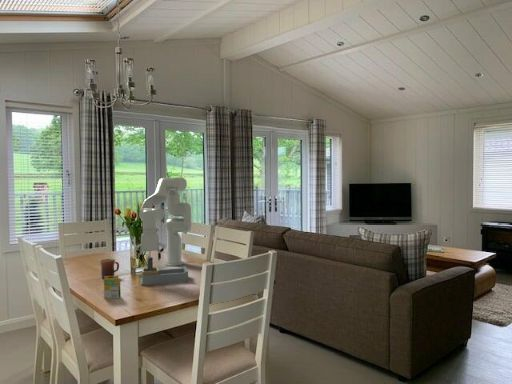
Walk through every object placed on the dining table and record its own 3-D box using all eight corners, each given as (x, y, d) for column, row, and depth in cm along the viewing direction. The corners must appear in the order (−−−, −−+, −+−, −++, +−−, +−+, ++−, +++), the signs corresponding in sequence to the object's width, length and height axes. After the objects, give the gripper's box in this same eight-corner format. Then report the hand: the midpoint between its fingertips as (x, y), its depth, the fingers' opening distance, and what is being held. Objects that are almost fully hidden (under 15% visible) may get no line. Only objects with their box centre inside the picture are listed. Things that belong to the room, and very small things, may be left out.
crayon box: (120, 296, 202) (120, 274, 201) (118, 298, 199) (118, 275, 198) (106, 297, 202) (105, 274, 201) (104, 298, 199) (103, 276, 198)
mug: (97, 278, 237) (96, 261, 236) (106, 274, 245) (105, 258, 245) (114, 279, 234) (114, 262, 233) (123, 276, 242) (122, 259, 241)
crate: (142, 277, 232) (141, 256, 232) (158, 276, 235) (157, 255, 234) (142, 281, 224) (141, 259, 223) (158, 280, 226) (158, 258, 226)
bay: (141, 279, 234) (141, 269, 234) (185, 276, 242) (185, 266, 241) (141, 285, 222) (141, 274, 222) (188, 281, 229) (188, 271, 229)
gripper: (164, 229, 234) (165, 257, 235) (134, 230, 229) (134, 260, 231) (165, 231, 227) (166, 260, 228) (133, 233, 222) (134, 263, 223)
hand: (150, 260), depth 229 cm, fingers open, 9 cm apart
